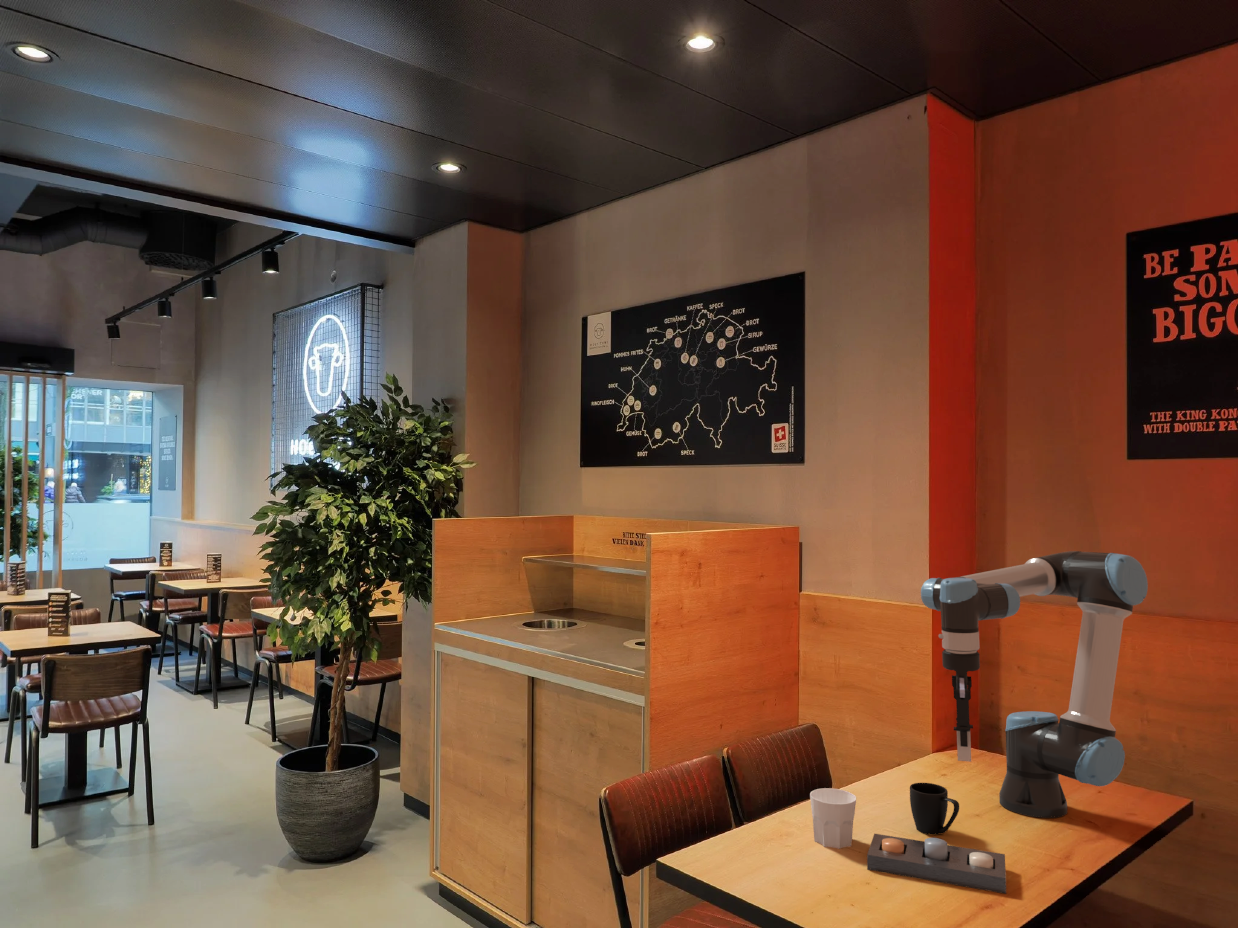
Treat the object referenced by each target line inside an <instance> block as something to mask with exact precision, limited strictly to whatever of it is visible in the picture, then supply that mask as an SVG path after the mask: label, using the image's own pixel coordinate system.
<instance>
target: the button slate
mask: <svg viewBox="0 0 1238 928" xmlns="http://www.w3.org/2000/svg"><path fill="white" fill-rule="evenodd" d="M924 841H925V858H930V859H936V860H942V861H948V851H947V845H948V841H946V840H944V839H941V838H937V837H928V838H925V839H924Z"/></svg>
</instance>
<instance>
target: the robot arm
mask: <svg viewBox="0 0 1238 928" xmlns="http://www.w3.org/2000/svg"><path fill="white" fill-rule="evenodd" d="M1148 585H1149V583H1148V577H1147V574H1146V570H1145V569H1144V568H1143V565H1142V564H1141V563H1140V561H1139V560H1137V559H1136V558H1135V557H1133V556H1132V555H1129V554H1122V553H1114V552H1093V551H1080V550H1068V551H1061V552H1057V553H1051V554H1047V555H1042V556H1039V557H1038V556H1037V557H1033V558H1030V559H1028V560H1027V561H1026V562H1025V563H1024V564H1019V565H1018V564H1017V565H1013V566H1009V567H1003V568H1002V567H1001V568H998V569H993V570H988V571H983V572H978V573H973V574H967V575H962V576H956V577H948V578H941V577H937V578H936V577H931V578H929V579H927V580H925V581H924V582H923V584H922V586H921V588H920V599H921V601H922V603H923V605H924V606H925V607H926V608H928V609H931V610H936V611H937V612H940V618H941V619H940V620H941V622H940V624H941V625H940V626H941V633H939V634H938V638H939V639H942V640H941V647H942V648H943V650H942V652H941V658H942V659H941V662H942V667H943V668H944V669H945V670H948V671H954V672H955V675H951V686H952V688H953V698H954V699H955V701H956V718H955V720H956V726H953V731H955V732H956V745H957V746H956V747H957V761H958V762H970V763H971V762H972V747H971V746H972V744H971V743H972V742H971V729H974V725H973V724H970V722H971V721H970V703H969V702H970V700H972V687H973V685H972V683H973V682H972V676H968V672H975V671H978V670H980V668H981V661H980V660H981V659H980V658H981V657H980V652H978V651H979V650H980V630H979V621H986V620H997V619H1005V618H1009V617H1013V616H1014V615H1016V614H1017V613H1018V611H1019V609H1020V608H1021V607H1020V606H1021V597H1025V596H1026V597H1027V596H1030V595H1035V596H1038V597H1046V596H1051V595H1052V596H1063V597H1069V598H1075V599H1077V600H1076V604H1077V606H1078V607H1079V608H1080V610H1081V611H1082V614H1081V615H1082V616H1081V622H1080V629H1079V636H1078V643H1077V650H1076V656H1075V661H1074V662H1075V663H1074V670H1073V677H1072V686H1071V690H1070V697H1069V703H1068V709H1067V711H1066V712H1065V713H1063V714H1061V715H1060V717H1058V715H1057V714H1056V713H1053V712H1049V711H1048V712H1046V711H1035V710H1033V711H1032V710H1031V711H1017V712H1012V713H1010V714H1009V715H1007V717H1006V723H1005V725H1006V726H1005V731H1004V732H1005V752H1006V754H1005V756H1006V757H1005V758H1006V774H1005V776H1004V779H1003V781H1002V784H1001V788H1000V791H999V804H1000V805H1001V806H1002V807H1003V808H1005V809H1007V810H1009V811H1011V812H1013V813H1017V814H1019V815H1023V816H1028V817H1034V818H1043V819H1047V818H1049V819H1050V818H1051V819H1054V818H1056V819H1057V818H1061V817H1064V816H1066V815H1067V813H1068V802H1067V799H1066V795H1065V793H1064V790H1063V787H1062V785H1061V781H1060V779H1059V778H1060V777H1059V776H1060V775H1061V776H1063V777H1066V778H1069V779H1072V780H1075V781H1078V782H1080V783H1081V784H1087V785H1090V786H1096V787H1105V786H1108V785H1110V784H1112V783H1113V781H1114V780H1116V779H1117V778H1118V776H1120V774H1121V772H1122V770H1123V767H1124V763H1125V760H1126V759H1125V757H1126V753H1125V750H1124V746H1123V743H1122V742H1121V741H1120V740H1119V739H1118V738H1116V733H1117V729H1116V728H1115V727H1114V725H1113V724H1112V722H1111V713H1112V707H1113V705H1112V704H1113V698H1114V692H1115V685H1116V684H1115V683H1116V676H1117V670H1118V662H1119V657H1120V656H1119V655H1120V648H1121V641H1122V634H1123V628H1124V627H1123V626H1124V625H1123V624H1124V620H1125V619H1126V618H1128V617H1129V616H1131V615H1133V609H1134V606H1137V605H1140V604H1141V603H1143V601H1144V600H1145V599H1146V597H1147V594H1148V589H1149V588H1148V587H1149V586H1148Z"/></svg>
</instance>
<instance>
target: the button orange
mask: <svg viewBox="0 0 1238 928" xmlns="http://www.w3.org/2000/svg"><path fill="white" fill-rule="evenodd" d="M882 851H888V852H894V853H900V854H904V843H903V842H902V841H901V840H898V839H894V838H885V839H883V840H882Z"/></svg>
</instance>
